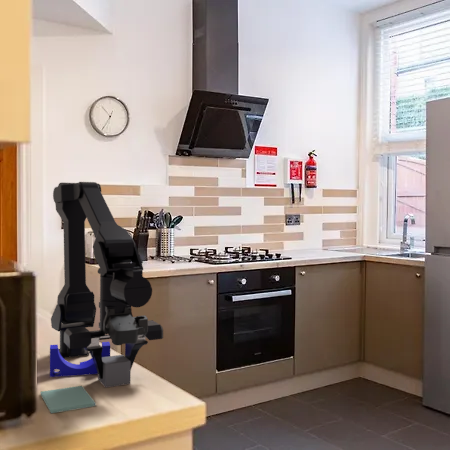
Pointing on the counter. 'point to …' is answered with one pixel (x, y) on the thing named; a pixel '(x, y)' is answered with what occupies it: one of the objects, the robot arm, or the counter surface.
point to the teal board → (67, 399)
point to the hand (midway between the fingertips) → (114, 376)
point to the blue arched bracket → (73, 369)
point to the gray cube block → (115, 371)
